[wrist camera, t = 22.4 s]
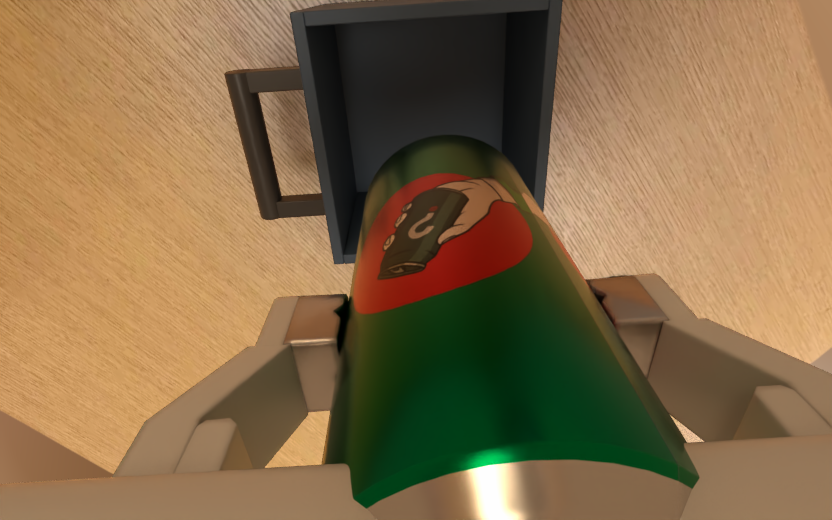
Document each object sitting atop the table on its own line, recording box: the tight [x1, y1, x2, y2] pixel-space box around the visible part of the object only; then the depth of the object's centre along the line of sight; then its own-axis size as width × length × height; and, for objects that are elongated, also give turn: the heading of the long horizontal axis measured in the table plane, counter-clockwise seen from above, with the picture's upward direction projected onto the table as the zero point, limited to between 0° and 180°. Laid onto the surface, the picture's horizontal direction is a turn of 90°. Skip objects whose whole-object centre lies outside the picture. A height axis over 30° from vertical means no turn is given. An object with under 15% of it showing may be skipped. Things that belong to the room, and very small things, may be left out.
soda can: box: [322, 135, 700, 520], centre depth 10 cm, size 5×5×12 cm
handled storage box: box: [224, 0, 563, 264], centre depth 28 cm, size 16×13×10 cm
